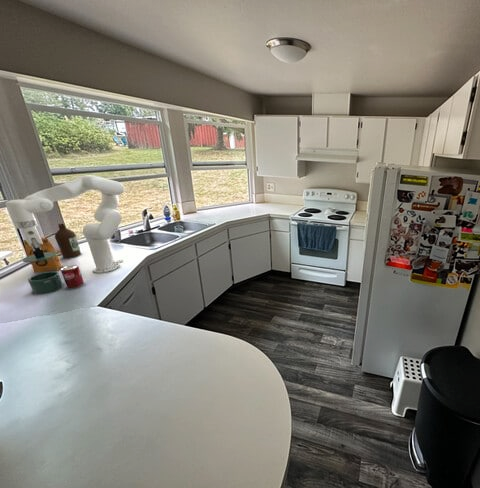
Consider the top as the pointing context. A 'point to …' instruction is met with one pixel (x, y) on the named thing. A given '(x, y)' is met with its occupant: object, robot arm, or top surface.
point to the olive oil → (67, 242)
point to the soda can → (72, 276)
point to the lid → (34, 259)
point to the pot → (45, 282)
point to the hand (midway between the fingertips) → (39, 256)
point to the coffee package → (47, 264)
